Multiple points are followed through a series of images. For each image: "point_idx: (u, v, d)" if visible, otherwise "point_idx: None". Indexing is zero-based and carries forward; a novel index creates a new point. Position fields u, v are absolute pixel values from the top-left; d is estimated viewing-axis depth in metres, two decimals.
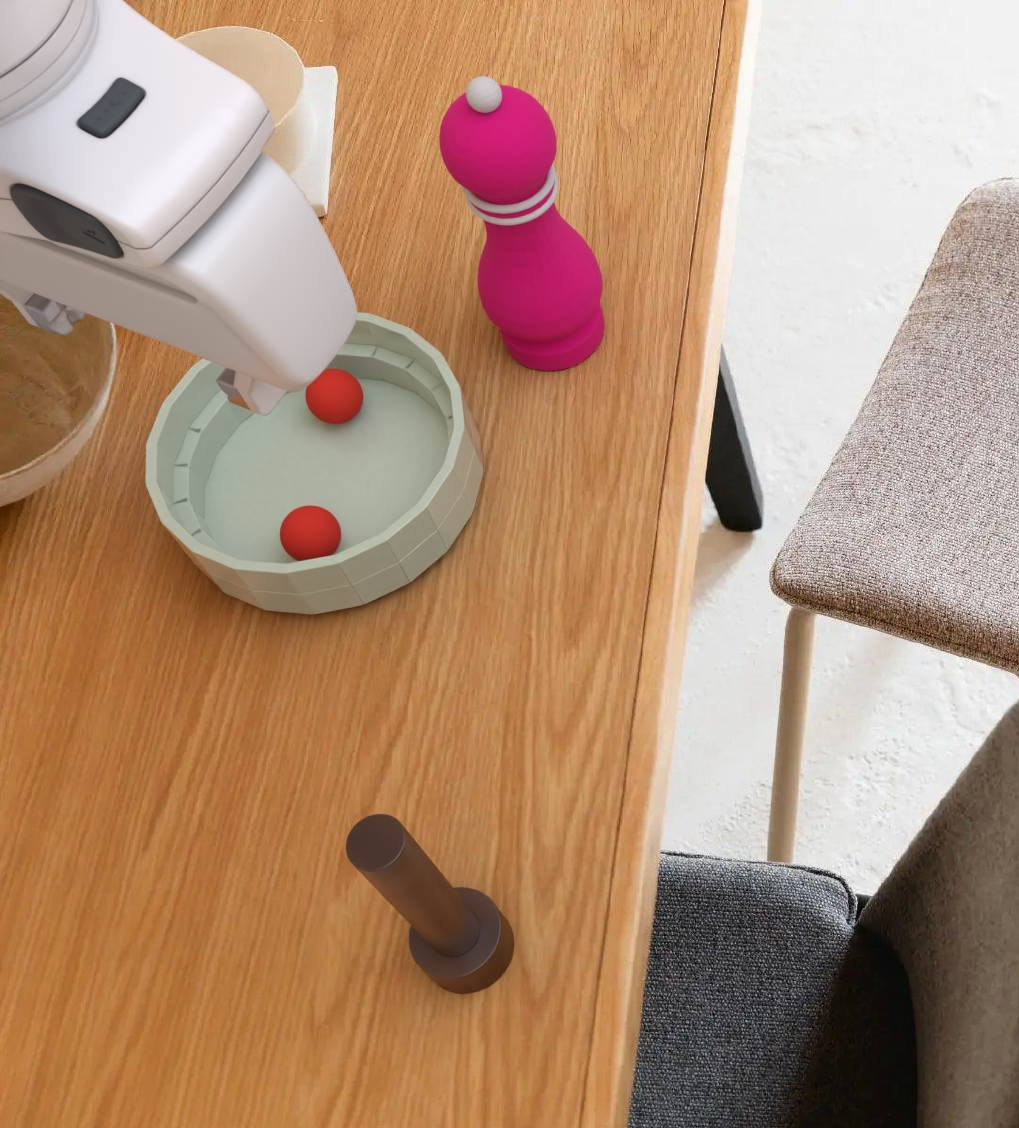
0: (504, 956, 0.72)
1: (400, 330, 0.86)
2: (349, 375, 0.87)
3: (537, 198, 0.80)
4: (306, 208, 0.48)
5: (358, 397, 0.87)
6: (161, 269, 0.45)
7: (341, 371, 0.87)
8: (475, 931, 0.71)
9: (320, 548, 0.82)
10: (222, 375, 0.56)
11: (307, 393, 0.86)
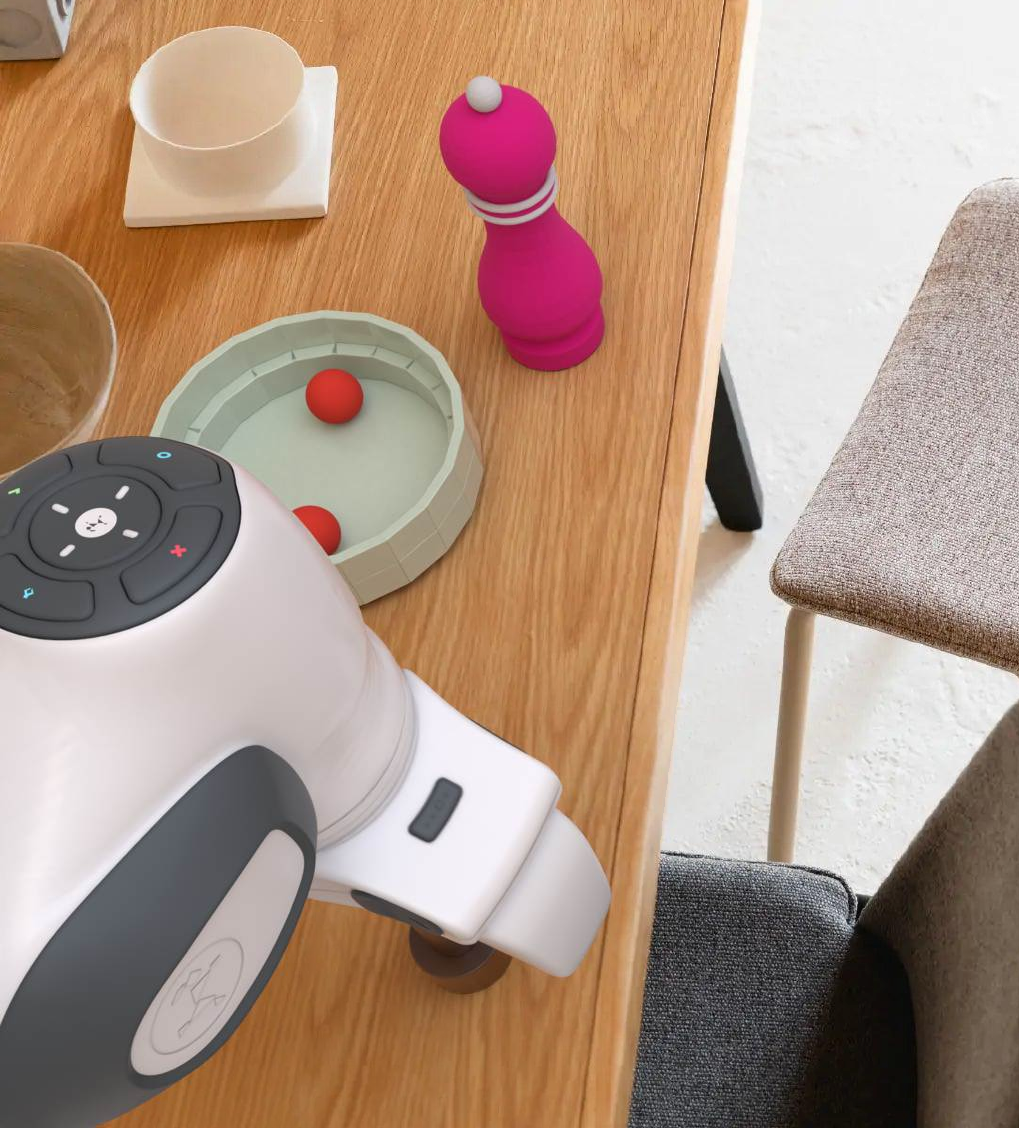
0: (504, 956, 0.72)
1: (400, 330, 0.86)
2: (349, 375, 0.87)
3: (537, 198, 0.80)
4: (583, 846, 0.54)
5: (358, 397, 0.87)
6: None
7: (341, 371, 0.87)
8: None
9: None
10: None
11: (307, 393, 0.86)
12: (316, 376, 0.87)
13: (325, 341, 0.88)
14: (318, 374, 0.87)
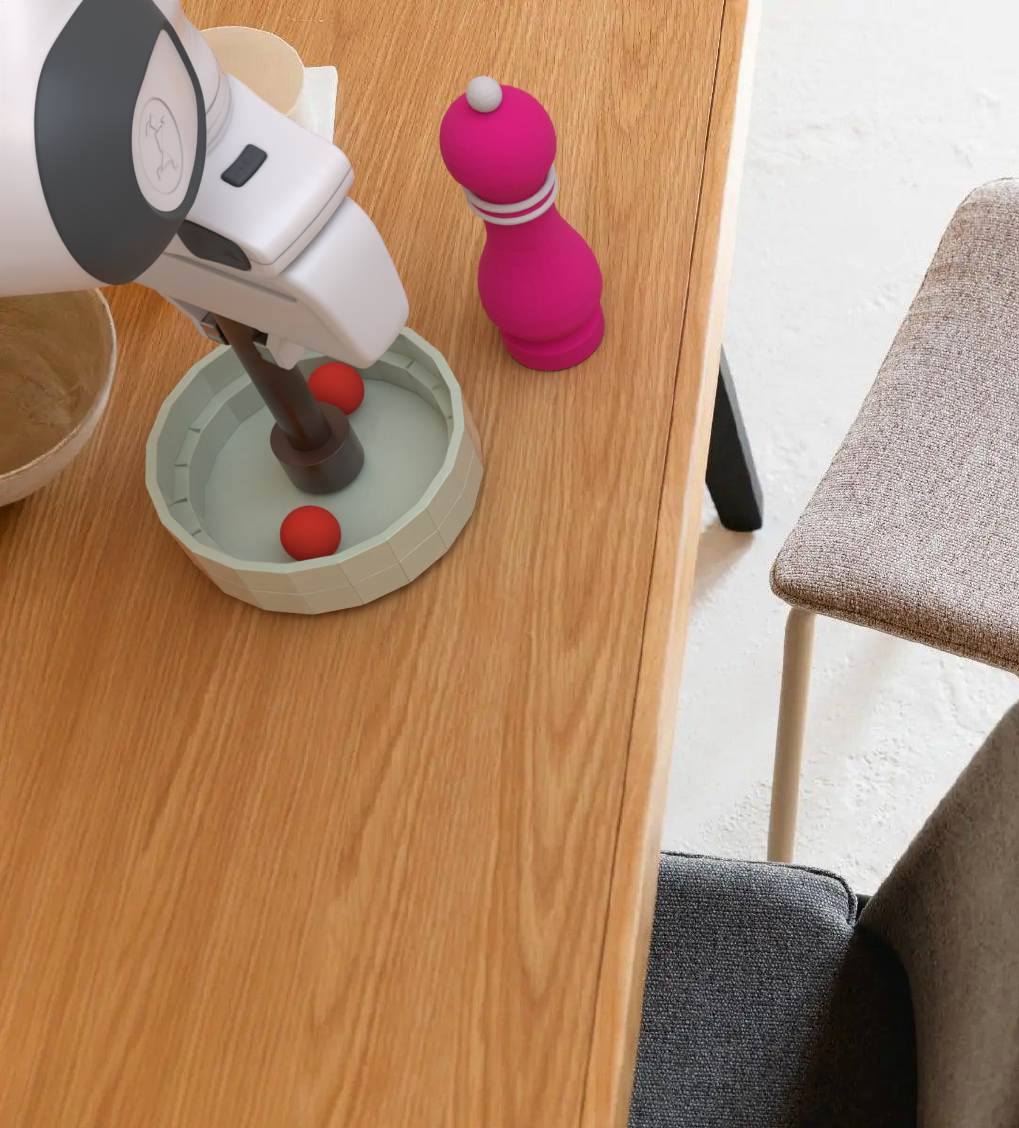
0: (353, 460, 0.85)
1: None
2: (352, 368, 0.88)
3: (537, 198, 0.80)
4: (375, 235, 0.67)
5: (359, 388, 0.87)
6: (275, 278, 0.64)
7: (344, 364, 0.88)
8: (325, 427, 0.83)
9: (320, 548, 0.82)
10: (257, 338, 0.75)
11: (308, 382, 0.87)
12: (319, 366, 0.87)
13: None
14: (321, 365, 0.87)
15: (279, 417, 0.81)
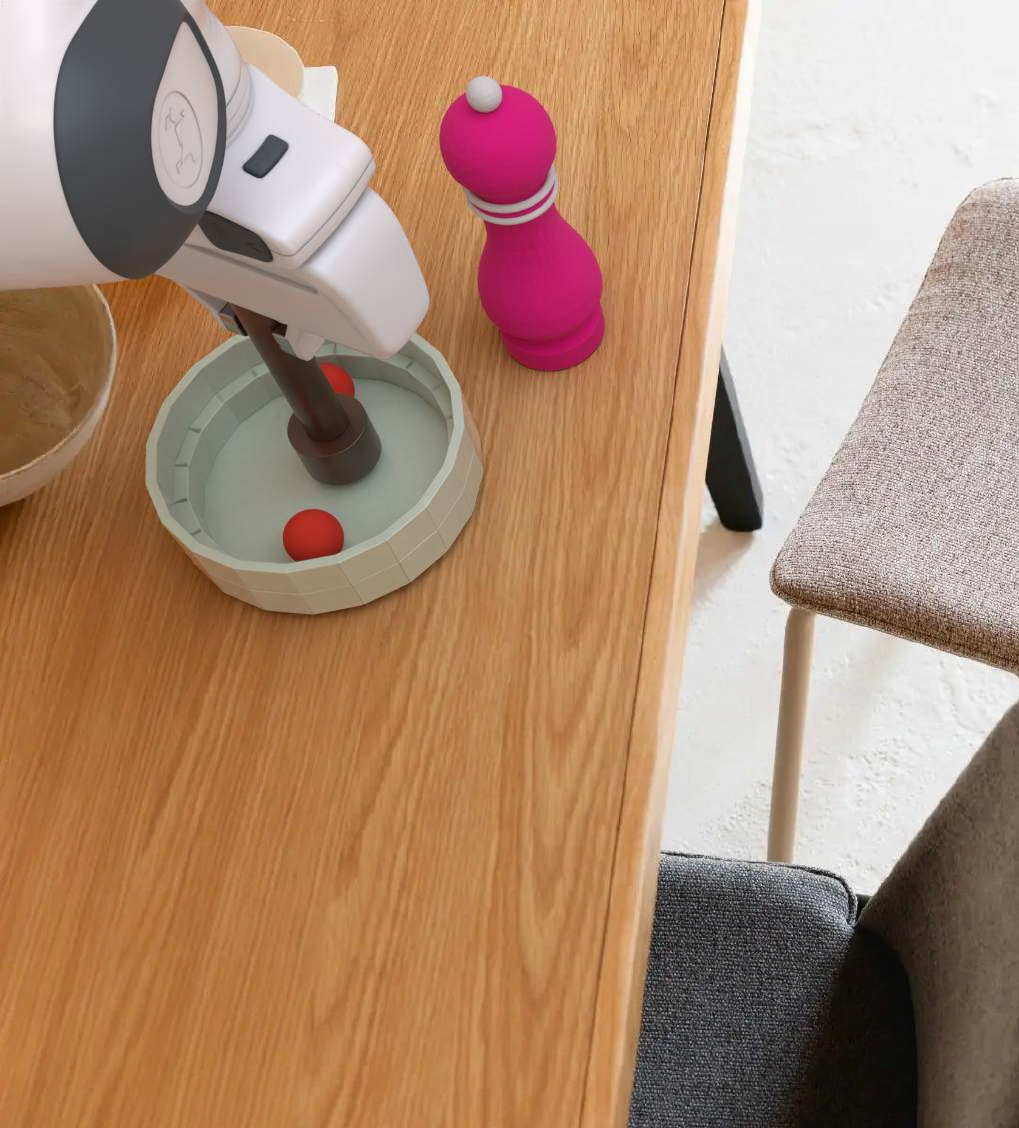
0: (370, 451, 0.85)
1: None
2: (334, 365, 0.87)
3: (537, 198, 0.80)
4: (397, 226, 0.66)
5: (345, 383, 0.87)
6: (297, 270, 0.64)
7: (326, 363, 0.87)
8: (342, 418, 0.83)
9: None
10: (276, 329, 0.75)
11: None
12: None
13: (325, 341, 0.88)
14: None
15: (297, 408, 0.80)
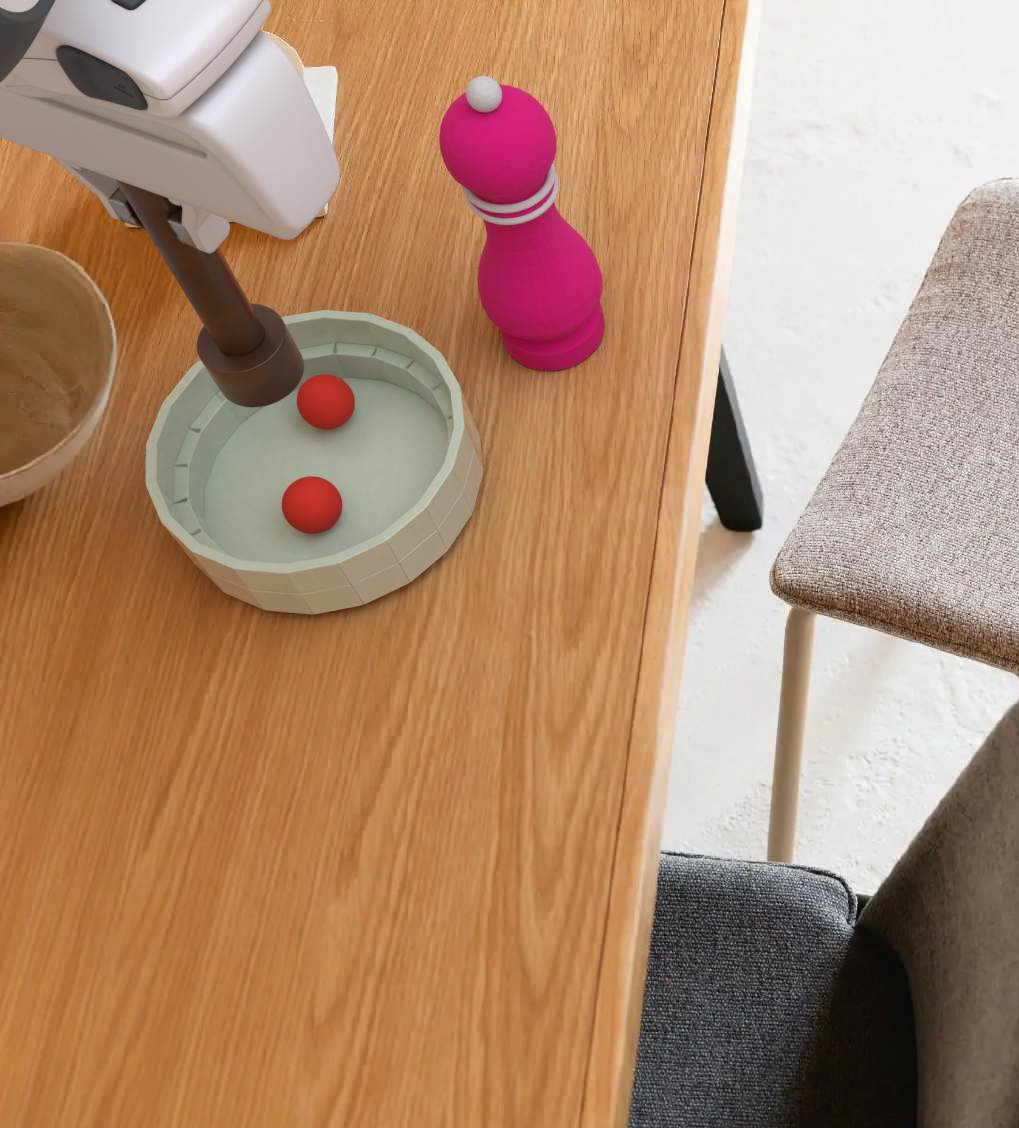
0: (290, 369, 0.76)
1: (400, 330, 0.86)
2: (332, 381, 0.86)
3: (537, 198, 0.80)
4: (297, 78, 0.58)
5: (346, 401, 0.87)
6: (178, 121, 0.55)
7: (323, 378, 0.86)
8: (257, 330, 0.74)
9: (315, 490, 0.83)
10: (173, 216, 0.66)
11: None
12: (301, 389, 0.86)
13: (325, 341, 0.88)
14: (303, 386, 0.86)
15: (204, 315, 0.72)
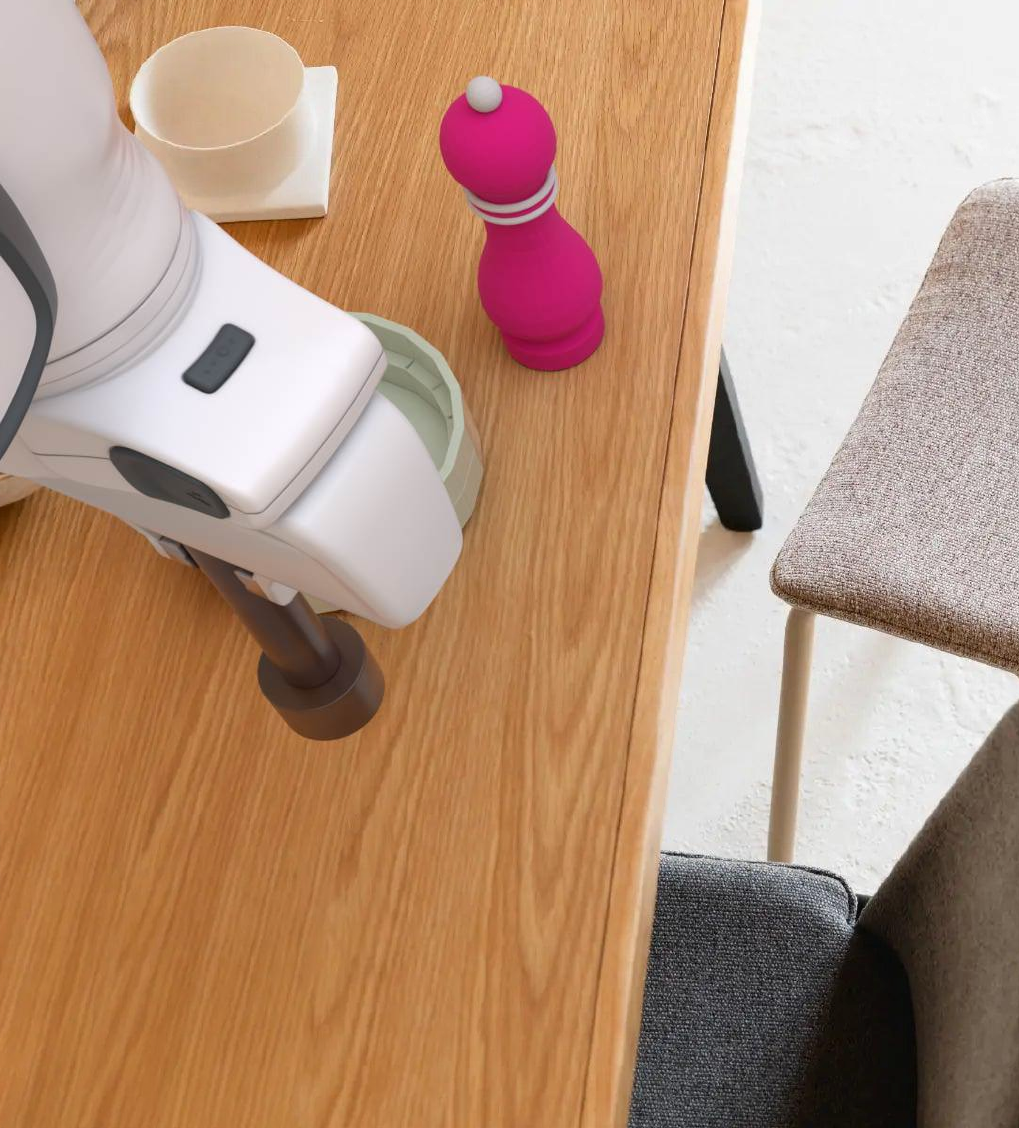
0: (371, 696, 0.63)
1: (400, 330, 0.86)
2: None
3: (537, 198, 0.80)
4: (418, 446, 0.44)
5: None
6: None
7: None
8: (333, 658, 0.61)
9: None
10: None
11: None
12: None
13: None
14: None
15: (270, 652, 0.58)
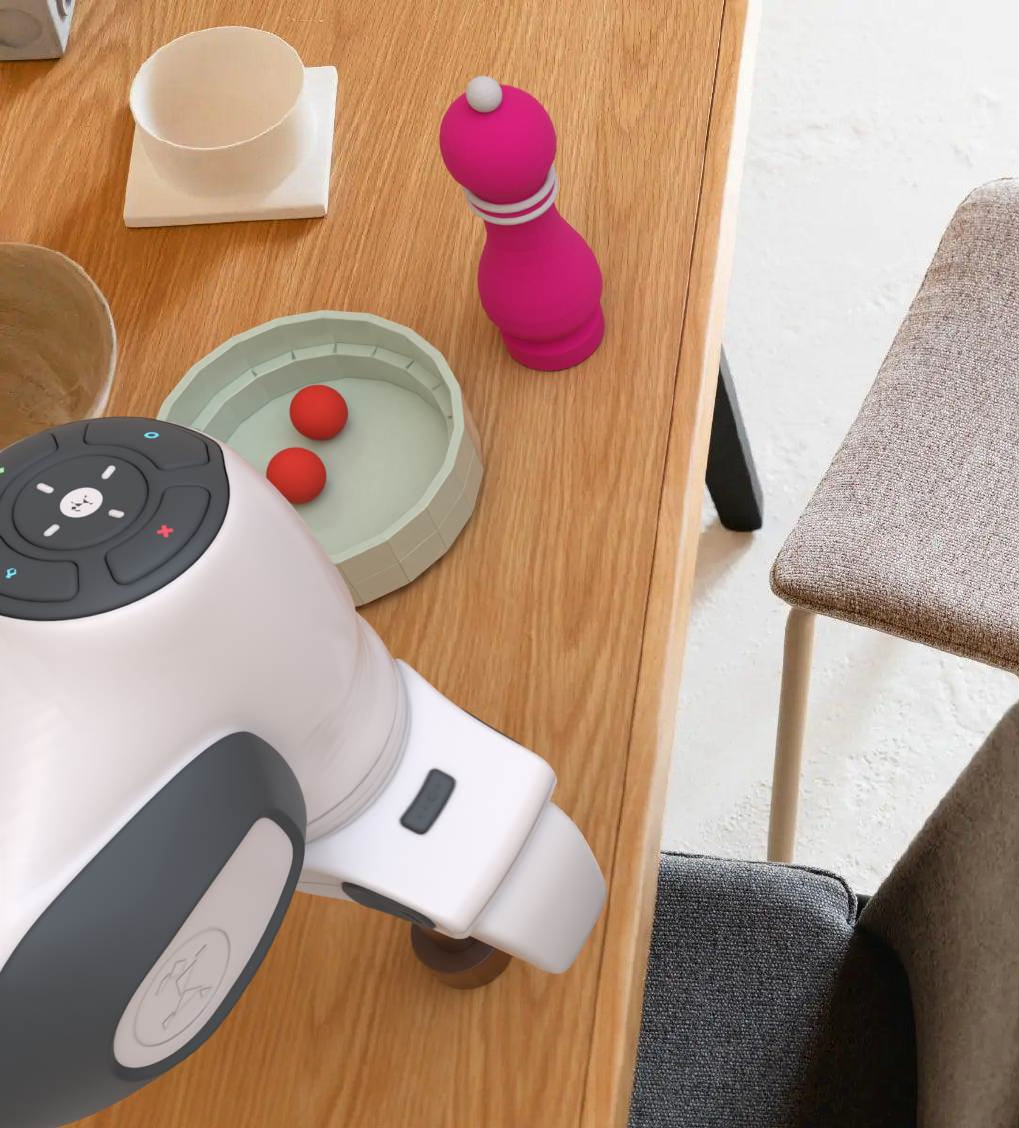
0: None
1: (400, 330, 0.86)
2: (318, 398, 0.86)
3: (537, 198, 0.80)
4: (578, 839, 0.53)
5: (338, 413, 0.86)
6: None
7: (309, 398, 0.86)
8: None
9: (299, 447, 0.85)
10: None
11: (294, 426, 0.87)
12: (291, 412, 0.86)
13: (325, 341, 0.88)
14: (292, 409, 0.86)
15: (428, 933, 0.68)
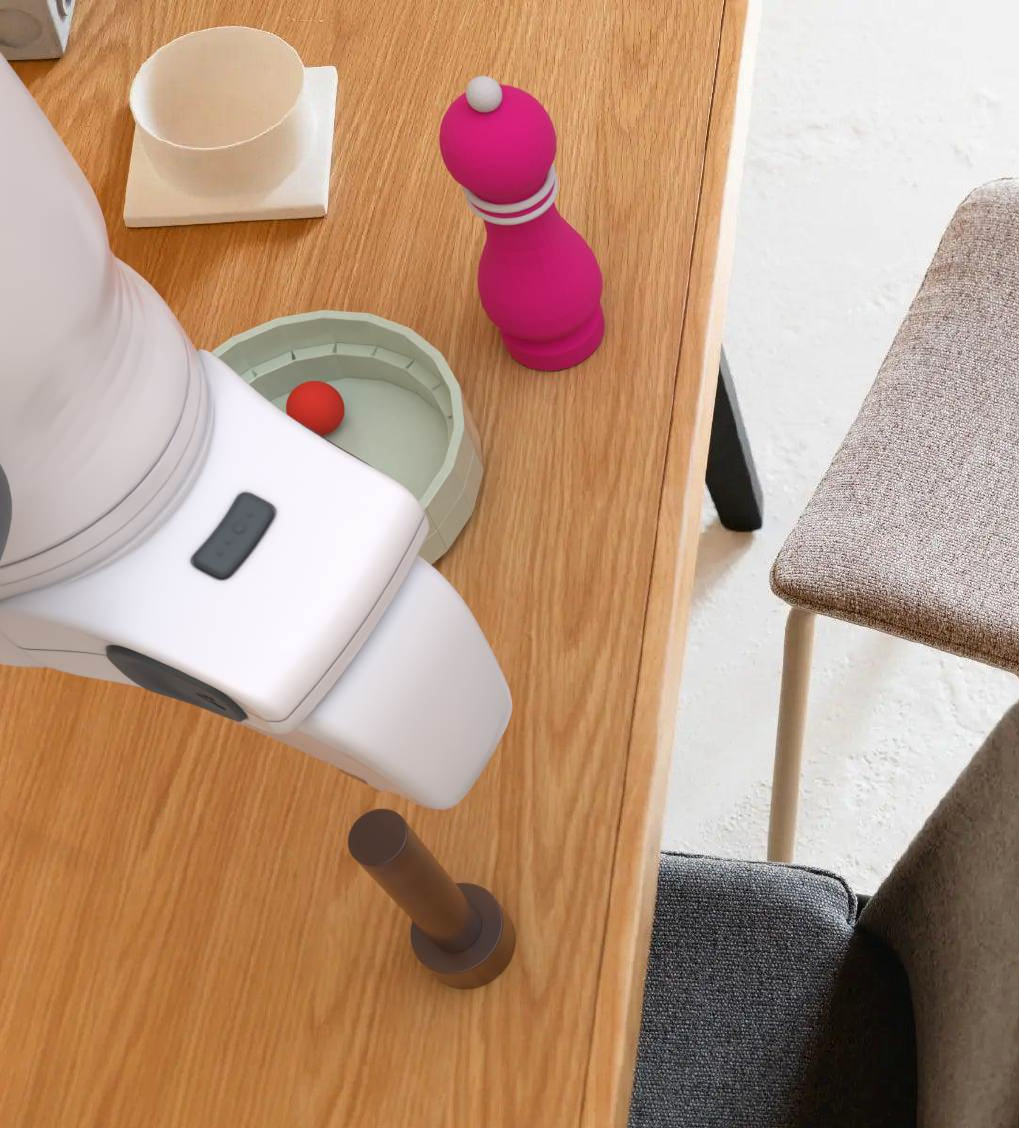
0: (506, 952, 0.73)
1: (400, 330, 0.86)
2: (311, 390, 0.86)
3: (537, 198, 0.80)
4: (464, 615, 0.38)
5: (331, 404, 0.86)
6: None
7: (302, 390, 0.86)
8: (476, 927, 0.71)
9: None
10: None
11: None
12: (287, 407, 0.86)
13: (325, 341, 0.88)
14: (287, 403, 0.86)
15: (428, 933, 0.68)
